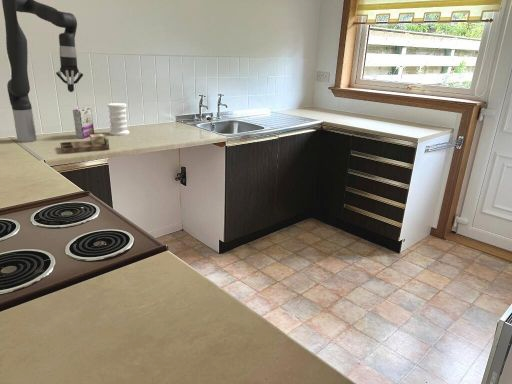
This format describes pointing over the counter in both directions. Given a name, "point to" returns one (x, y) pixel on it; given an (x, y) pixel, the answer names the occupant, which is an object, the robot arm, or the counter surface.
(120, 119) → the decorative container
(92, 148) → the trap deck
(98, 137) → the maple block
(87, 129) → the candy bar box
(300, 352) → the counter surface
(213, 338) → the counter surface
